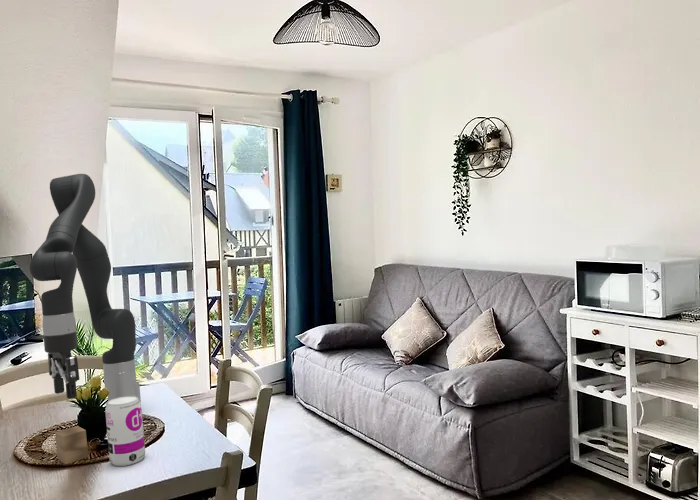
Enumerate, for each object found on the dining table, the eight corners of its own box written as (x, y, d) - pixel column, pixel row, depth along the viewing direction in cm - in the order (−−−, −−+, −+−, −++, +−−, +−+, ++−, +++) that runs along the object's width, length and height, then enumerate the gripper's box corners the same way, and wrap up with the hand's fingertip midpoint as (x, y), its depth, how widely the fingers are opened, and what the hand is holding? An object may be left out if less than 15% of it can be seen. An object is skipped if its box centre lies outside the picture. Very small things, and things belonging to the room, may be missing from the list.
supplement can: (152, 455, 149) (147, 396, 149) (127, 468, 142) (122, 406, 141) (128, 452, 153) (123, 394, 152) (102, 465, 145) (97, 404, 145)
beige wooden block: (79, 452, 155) (77, 425, 155) (88, 457, 151) (85, 430, 151) (57, 459, 151) (55, 432, 151) (65, 464, 148) (63, 436, 147)
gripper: (86, 331, 148) (91, 395, 148) (65, 327, 158) (70, 387, 158) (53, 336, 142) (60, 403, 143) (34, 332, 153) (40, 394, 153)
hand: (65, 395), depth 151 cm, fingers open, 8 cm apart
